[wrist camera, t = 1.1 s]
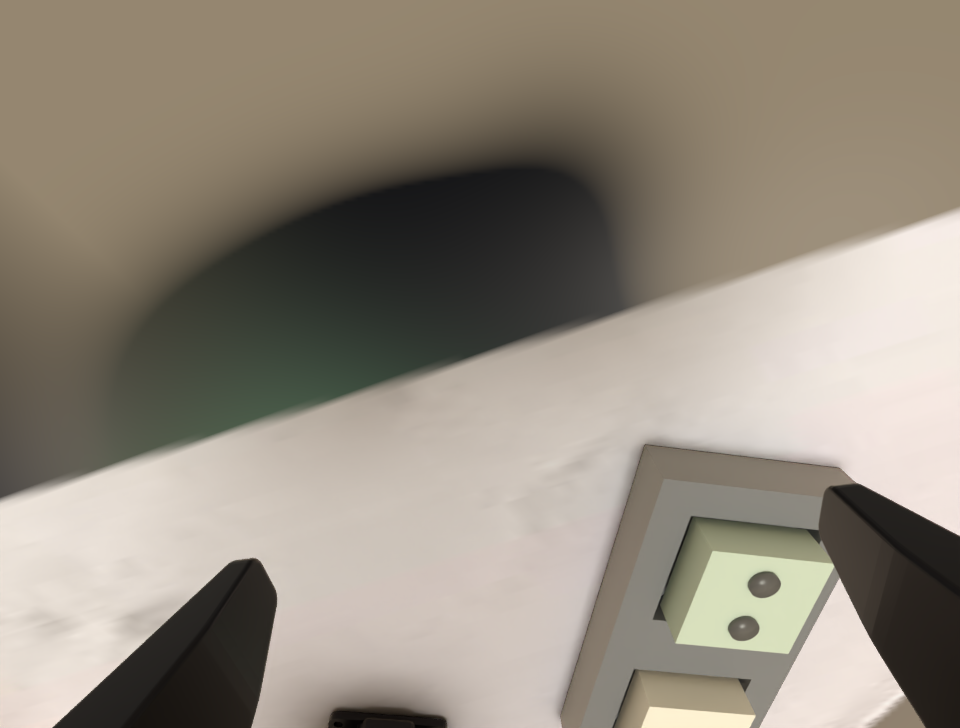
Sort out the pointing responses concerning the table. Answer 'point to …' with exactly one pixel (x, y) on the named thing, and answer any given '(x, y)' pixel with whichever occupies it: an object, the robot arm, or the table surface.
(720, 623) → the sage tile two
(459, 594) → the table surface
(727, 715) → the cream tile one
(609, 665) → the panel
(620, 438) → the table surface
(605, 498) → the table surface
